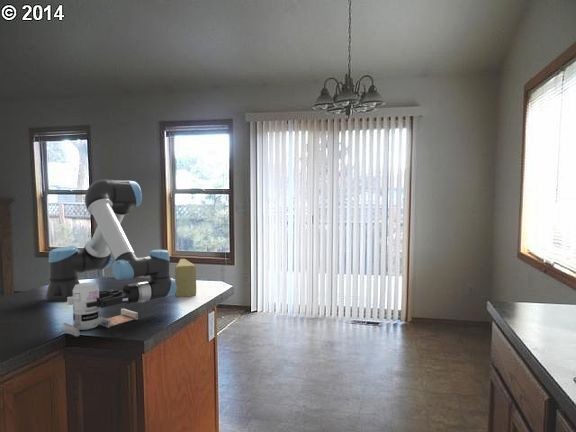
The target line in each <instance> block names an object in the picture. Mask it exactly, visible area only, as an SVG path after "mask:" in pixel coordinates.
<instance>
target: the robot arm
mask: <svg viewBox="0 0 576 432" xmlns="http://www.w3.org/2000/svg"><path fill="white" fill-rule="evenodd" d="M142 193H143V192H142V189H141V187H140V185H139V183H138V182H136V181H134V180H128V179H125V180H124V179H123V180H120V179H117V180H116V179H99V180H96V181H94V182H92V183H91V185H89V186H88V188H87V190H86V191H85V194H84V204H85V208H86V210H87V212H88V213H89V214H90V215H92V217H94V220H95V222H96V225H97V226H96V228H95V231H94V233H93V235H92V238H91V239H90V240H88V241H87V242H85V245H84V247H81V248H79V247H78V246H77V245H69V246H61V247H57V248H54V249H51V250H50V251H49V252H48V260H47V262H48V279H49V280H48V281H49V282H48V286H47V289H46V292H45V296H44V300H45V302H50V301H51V302H53V303H55V302H56V303H57V302H59V303H60V302H67V306H71V305H72V306H73V289H74V287H75V285H77V284H80V280H79V274H80V273H82V274H83V273H88V272H96V271H98V272H99V271H103V270H106V269H108V268H109V267H110V266H111V264H112V262H113V260H114V262H113V264H112V266H111V271H112V275H113V277H114V279H116V280H118V281H129V280H132V279H138V278H142V277H143V278H144V277H149V279H150V280H147V281H140V282H136V283H128V284H125V285H124V286H123V288H122V290H120V289H115V288H112V289H106V290H99V298H97V301H96V299H92V300H86V301H80V302H75V311H77V310H83V309H88V308H94V307H96V306H97V307H99V308H100V309H103V308H104V309H105V308H108V307H112V306H115V305H116V306H117V305H121V304H126V305H132V304H137V303H145V302H146V301H147V302H148V301H152V300H158V299H165V298H169V297H173V296H174V295H176V282H175V278H173V277H171V275H170V266H171V265H170V263H171V262H170V261H171V260H170V259H171V258H170V252H169V251H168V250H167V249H153V250H150V251H149V254H148V256H142V257H138V256H137V255H136V254H135V251H134V249H133V247H132V245H131V244H130V241H129V239H128V237H127V235H126V233H125V231H124V229H123V227H122V225H121V224H122V221H123V219H124V217H125V215H128V214H130V213H131V211H132V209H133V208H134V207H135V208H136V207H139V206H140V205H141V203H142V201H143V194H142ZM51 302H50V303H51Z"/></svg>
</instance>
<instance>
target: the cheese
mask: <svg viewBox="0 0 576 432" xmlns="http://www.w3.org/2000/svg"><path fill="white" fill-rule="evenodd" d="M174 280H175V282H176V292H175V296H176V298H182V297H183V298H186V297H195V296H196V295H197V266H196V265H195V264H193V263H192V262H190V261H189V260H188V259H185V258H180V259H179V261H178V263H177V264H176V266H175V267H174Z"/></svg>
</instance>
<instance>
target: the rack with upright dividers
mask: <svg viewBox="0 0 576 432" xmlns="http://www.w3.org/2000/svg"><path fill="white" fill-rule="evenodd" d="M134 320H135V321H137V320H139V312H136V311H134V310H133V311H132V310H129V309H126V308H124V307H123V308H120V314H119V315H115V316H112V317H108V318H105V317H103V316H100V315H99V321H100V323H99V324H98V325H99V326H102V327H105V328H106V329H108V328H111V327H113V326H116V325H121V324H124V323H128V322H131V321H134ZM61 325H62V329H61V330H62V331H63V332H65V333H67V334H69V335H71V336H74V337H80V330H79V328H77V327H75V326H73V324H70V323H67V322H63V323H62V324H61Z"/></svg>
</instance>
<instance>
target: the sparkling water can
mask: <svg viewBox="0 0 576 432" xmlns="http://www.w3.org/2000/svg"><path fill="white" fill-rule="evenodd" d="M79 283H80V282H79ZM99 291H100V287H99V286H98V283H96V282H81V283H80V284H77V285H75V287H74V289H73V304H72V315H73V317H72V323H73V324H72V326H75V327H77V328H79V331H80V330H83V331H84V330H85V331H86V330H89V329H94V328H96V327H98V325H99V323H100V321H99V316H100V307H97V306H96V307H94V308H88V309H83V310H77V311H75V302H80V301H86V300H92V299H96V301H97V298H99Z"/></svg>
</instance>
